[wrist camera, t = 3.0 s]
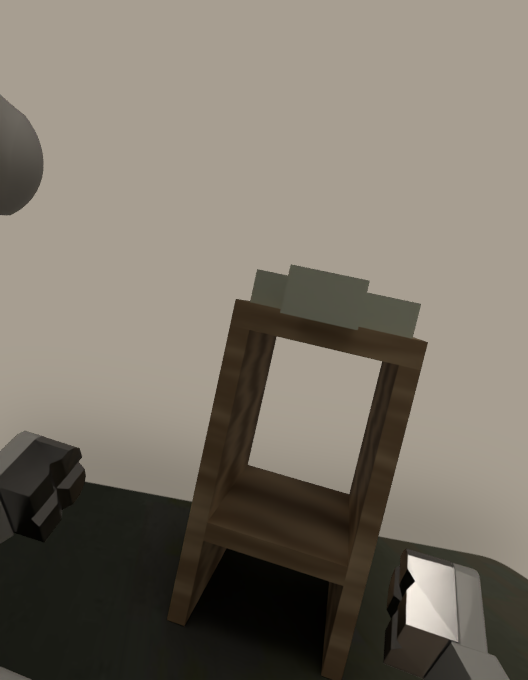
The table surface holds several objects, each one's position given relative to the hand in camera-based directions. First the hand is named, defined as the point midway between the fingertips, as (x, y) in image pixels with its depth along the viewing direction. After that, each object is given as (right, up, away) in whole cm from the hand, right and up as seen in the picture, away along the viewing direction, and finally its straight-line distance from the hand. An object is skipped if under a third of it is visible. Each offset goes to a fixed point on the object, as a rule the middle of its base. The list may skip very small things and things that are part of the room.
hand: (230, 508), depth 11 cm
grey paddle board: (+6, +6, +23) cm, 24 cm away
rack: (+1, -19, +31) cm, 37 cm away
